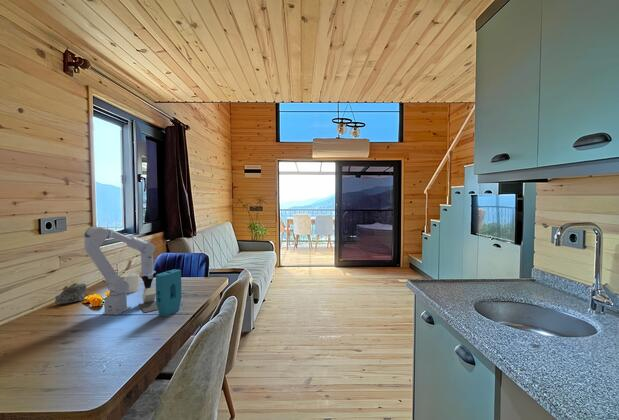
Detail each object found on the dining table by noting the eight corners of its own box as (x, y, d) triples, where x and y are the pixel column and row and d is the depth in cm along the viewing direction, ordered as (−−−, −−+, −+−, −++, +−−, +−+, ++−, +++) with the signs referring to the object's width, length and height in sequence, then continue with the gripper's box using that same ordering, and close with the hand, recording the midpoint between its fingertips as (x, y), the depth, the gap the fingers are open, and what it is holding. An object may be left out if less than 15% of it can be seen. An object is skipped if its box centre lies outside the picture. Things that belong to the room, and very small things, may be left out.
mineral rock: (53, 306, 152) (53, 287, 152) (61, 300, 162) (60, 282, 161) (84, 303, 157) (83, 284, 157) (89, 297, 167) (89, 279, 167)
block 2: (163, 317, 138) (162, 275, 137) (155, 316, 140) (154, 275, 139) (182, 308, 149) (181, 270, 148) (175, 307, 151) (174, 269, 150)
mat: (166, 308, 150) (166, 307, 150) (144, 313, 144) (144, 312, 144) (159, 300, 161) (159, 300, 161) (138, 305, 154) (138, 304, 154)
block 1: (153, 301, 159) (156, 293, 155) (143, 303, 156) (145, 295, 152) (152, 295, 162) (154, 287, 157) (142, 297, 158) (144, 288, 154)
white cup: (134, 293, 174) (134, 276, 173) (121, 293, 174) (121, 276, 174) (142, 289, 182) (142, 273, 181) (130, 289, 182) (129, 273, 181)
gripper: (158, 265, 155) (159, 290, 156) (152, 261, 166) (152, 284, 167) (143, 267, 151) (144, 293, 151) (138, 262, 162) (138, 287, 162)
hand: (147, 289), depth 159 cm, fingers closed
